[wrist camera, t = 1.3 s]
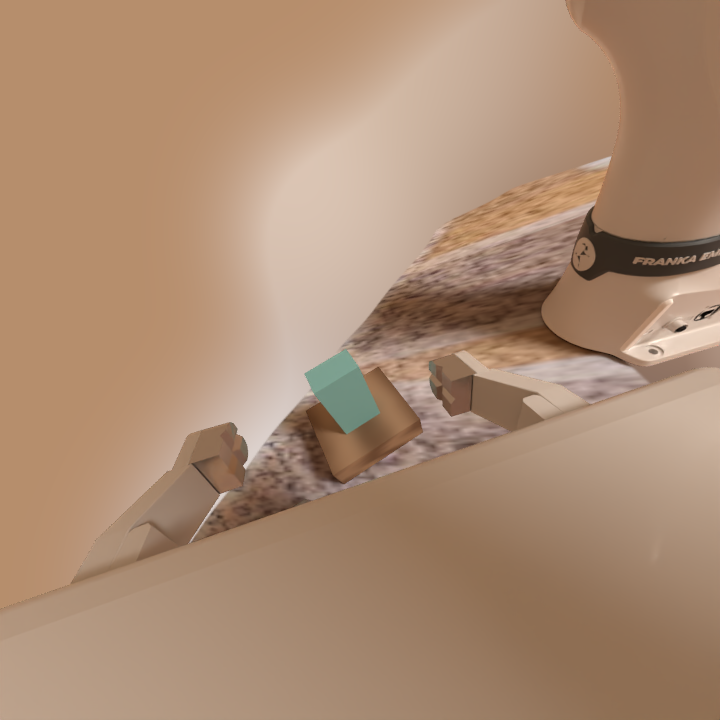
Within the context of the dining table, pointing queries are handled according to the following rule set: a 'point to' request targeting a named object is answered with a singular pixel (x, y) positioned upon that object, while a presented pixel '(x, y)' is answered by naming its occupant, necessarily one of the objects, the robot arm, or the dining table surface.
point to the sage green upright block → (343, 391)
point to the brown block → (366, 430)
